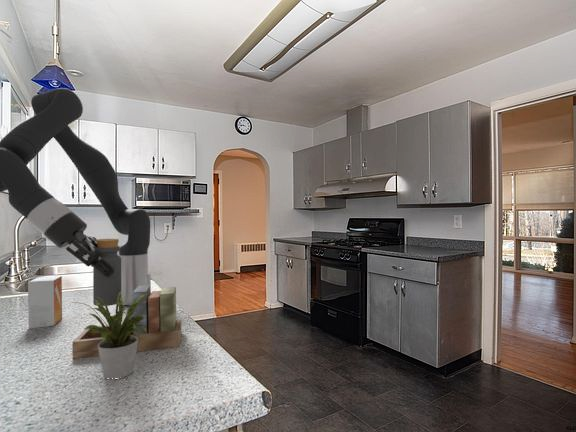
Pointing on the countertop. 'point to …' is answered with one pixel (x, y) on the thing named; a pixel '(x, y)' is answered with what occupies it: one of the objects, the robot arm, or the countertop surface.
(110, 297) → the bottle
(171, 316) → the rack
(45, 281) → the small box
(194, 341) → the countertop surface
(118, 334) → the house plant
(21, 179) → the robot arm
